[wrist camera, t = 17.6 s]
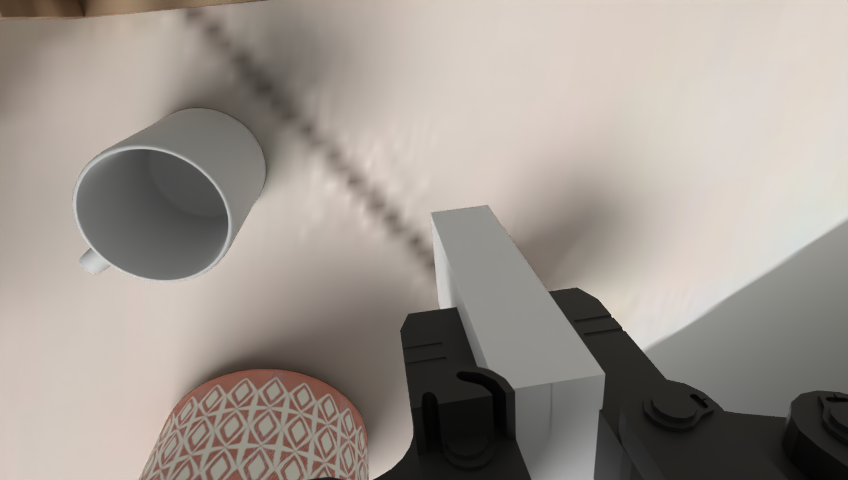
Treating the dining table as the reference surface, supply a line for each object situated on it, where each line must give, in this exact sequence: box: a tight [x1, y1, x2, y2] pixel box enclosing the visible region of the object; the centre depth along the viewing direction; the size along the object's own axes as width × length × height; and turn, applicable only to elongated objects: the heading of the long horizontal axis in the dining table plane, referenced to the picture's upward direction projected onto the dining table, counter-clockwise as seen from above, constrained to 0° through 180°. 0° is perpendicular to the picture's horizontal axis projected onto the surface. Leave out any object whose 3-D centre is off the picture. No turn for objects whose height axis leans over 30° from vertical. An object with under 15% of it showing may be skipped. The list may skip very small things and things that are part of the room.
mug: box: [73, 108, 266, 283], centre depth 32 cm, size 12×8×11 cm
